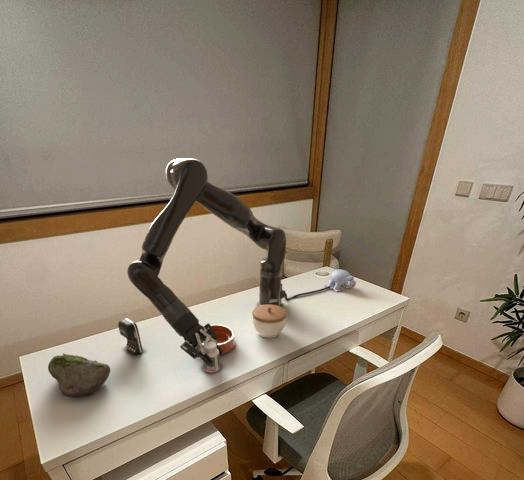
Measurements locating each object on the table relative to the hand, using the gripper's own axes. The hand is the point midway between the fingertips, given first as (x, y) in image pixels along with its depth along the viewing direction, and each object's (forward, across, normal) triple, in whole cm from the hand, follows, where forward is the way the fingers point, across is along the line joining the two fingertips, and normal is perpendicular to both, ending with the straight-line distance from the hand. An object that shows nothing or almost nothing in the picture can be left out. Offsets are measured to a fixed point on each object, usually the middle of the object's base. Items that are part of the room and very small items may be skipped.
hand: (216, 358), depth 101 cm
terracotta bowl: (-3, +12, +8) cm, 15 cm away
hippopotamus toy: (+19, +84, -13) cm, 87 cm away
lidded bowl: (+8, +28, -2) cm, 29 cm away
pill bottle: (+2, 0, +4) cm, 5 cm away
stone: (-20, -22, +26) cm, 40 cm away
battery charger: (-19, -3, +25) cm, 32 cm away
